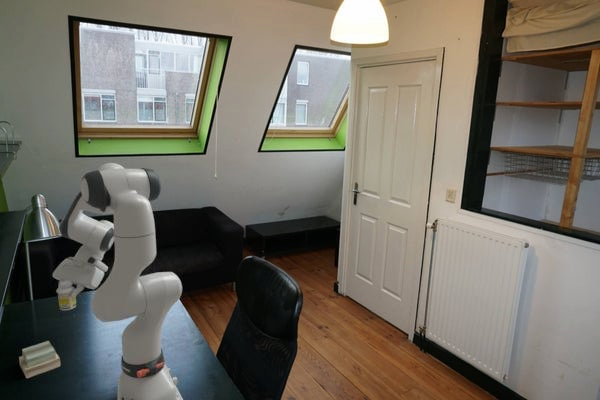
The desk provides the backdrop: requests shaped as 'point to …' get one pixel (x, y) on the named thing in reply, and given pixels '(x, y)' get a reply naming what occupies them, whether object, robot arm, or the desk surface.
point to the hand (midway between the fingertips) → (65, 294)
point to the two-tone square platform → (38, 359)
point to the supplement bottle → (66, 295)
